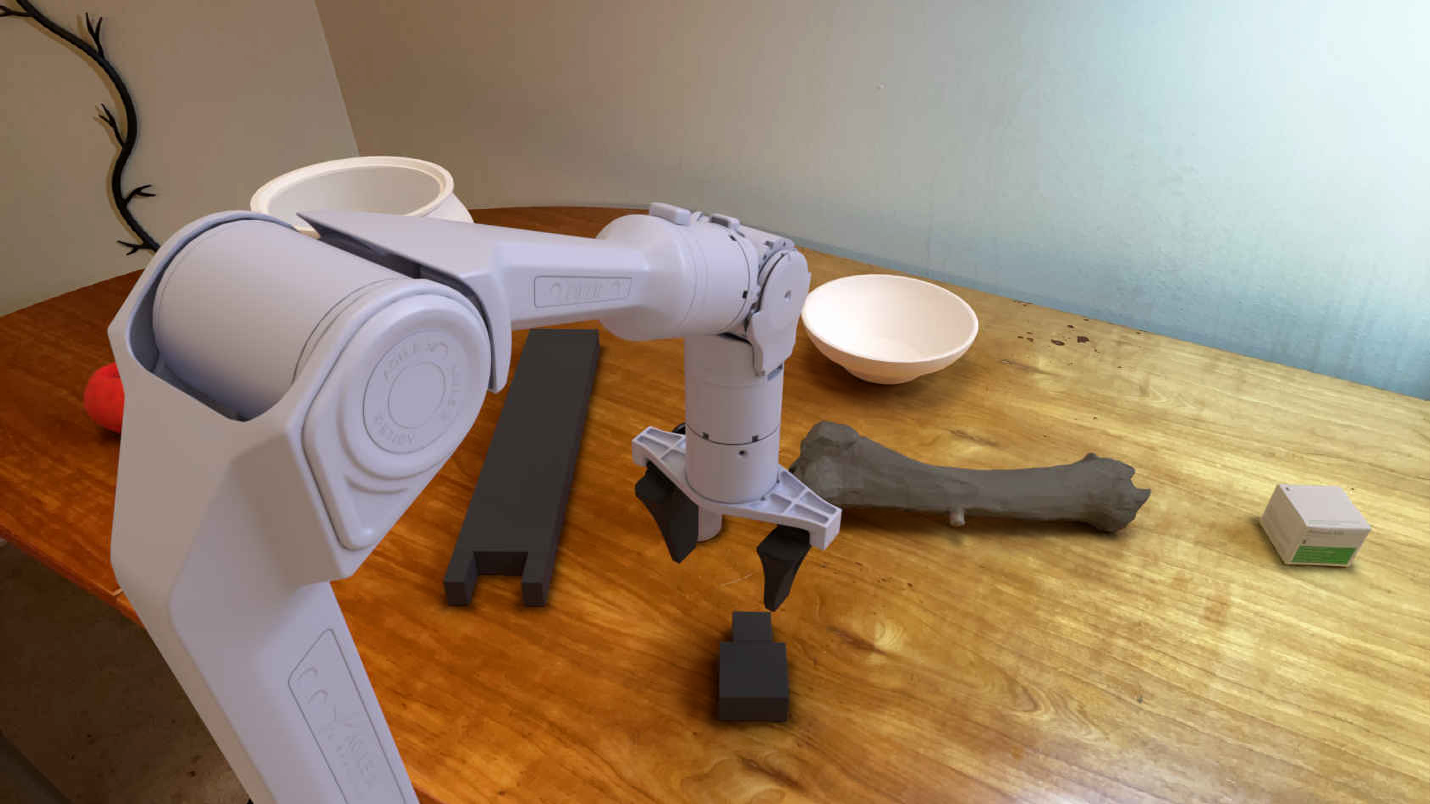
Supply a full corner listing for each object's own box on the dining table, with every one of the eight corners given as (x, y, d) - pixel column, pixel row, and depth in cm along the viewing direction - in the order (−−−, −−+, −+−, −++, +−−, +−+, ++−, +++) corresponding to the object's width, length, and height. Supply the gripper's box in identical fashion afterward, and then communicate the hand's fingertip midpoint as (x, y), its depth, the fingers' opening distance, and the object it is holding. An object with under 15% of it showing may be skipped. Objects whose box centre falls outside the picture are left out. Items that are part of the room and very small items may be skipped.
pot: (325, 257, 127) (294, 144, 117) (513, 262, 126) (497, 148, 117) (223, 373, 103) (175, 242, 93) (455, 380, 102) (430, 248, 93)
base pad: (545, 606, 75) (541, 582, 73) (448, 605, 75) (442, 581, 73) (600, 349, 107) (598, 329, 106) (532, 348, 108) (530, 328, 106)
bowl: (957, 431, 95) (968, 376, 91) (777, 395, 100) (780, 342, 96) (976, 339, 110) (986, 289, 106) (819, 312, 115) (823, 263, 111)
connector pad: (787, 721, 66) (789, 697, 64) (718, 721, 66) (719, 696, 64) (781, 635, 73) (783, 611, 71) (719, 634, 73) (719, 610, 71)
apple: (149, 455, 91) (121, 394, 86) (80, 444, 92) (50, 384, 88) (201, 409, 97) (178, 350, 93) (136, 400, 98) (110, 342, 94)
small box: (1284, 566, 79) (1306, 525, 76) (1256, 521, 84) (1275, 481, 81) (1351, 569, 79) (1375, 528, 76) (1319, 524, 84) (1341, 483, 81)
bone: (781, 540, 81) (786, 460, 76) (780, 472, 89) (785, 395, 84) (1149, 555, 80) (1180, 474, 75) (1115, 484, 88) (1141, 407, 83)
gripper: (873, 424, 53) (851, 586, 61) (675, 349, 60) (678, 503, 68) (813, 489, 49) (798, 655, 57) (606, 399, 55) (618, 559, 63)
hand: (729, 576), depth 62 cm, fingers open, 7 cm apart
